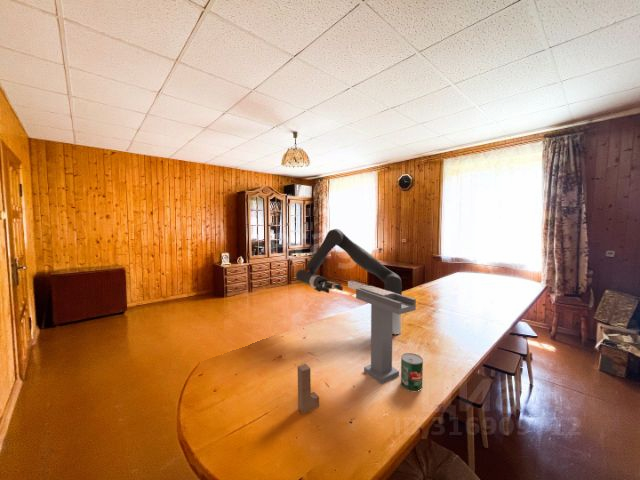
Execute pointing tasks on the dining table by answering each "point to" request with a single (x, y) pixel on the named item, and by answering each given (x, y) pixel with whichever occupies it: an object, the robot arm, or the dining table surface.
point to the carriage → (371, 289)
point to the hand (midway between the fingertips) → (335, 289)
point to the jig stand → (383, 331)
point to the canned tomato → (411, 371)
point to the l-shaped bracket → (306, 390)
